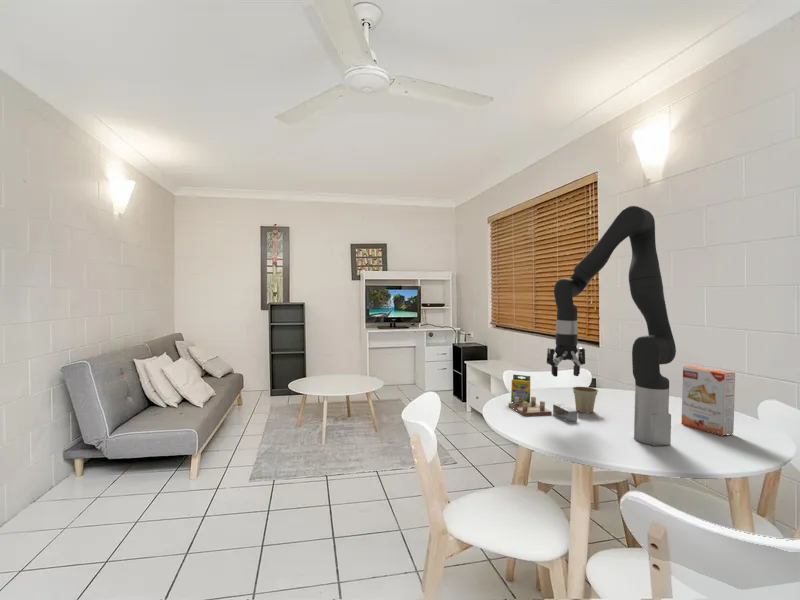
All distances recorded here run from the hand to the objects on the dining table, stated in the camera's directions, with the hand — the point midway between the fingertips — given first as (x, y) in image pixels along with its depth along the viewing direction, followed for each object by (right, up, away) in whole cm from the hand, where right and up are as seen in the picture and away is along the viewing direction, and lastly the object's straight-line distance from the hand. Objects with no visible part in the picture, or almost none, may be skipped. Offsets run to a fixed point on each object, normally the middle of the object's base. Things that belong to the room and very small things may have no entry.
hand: (565, 376), depth 158 cm
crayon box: (-11, -15, +20) cm, 27 cm away
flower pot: (+11, -16, +10) cm, 21 cm away
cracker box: (+44, -17, -12) cm, 48 cm away
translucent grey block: (0, -16, 0) cm, 16 cm away
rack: (-11, -15, +9) cm, 21 cm away
